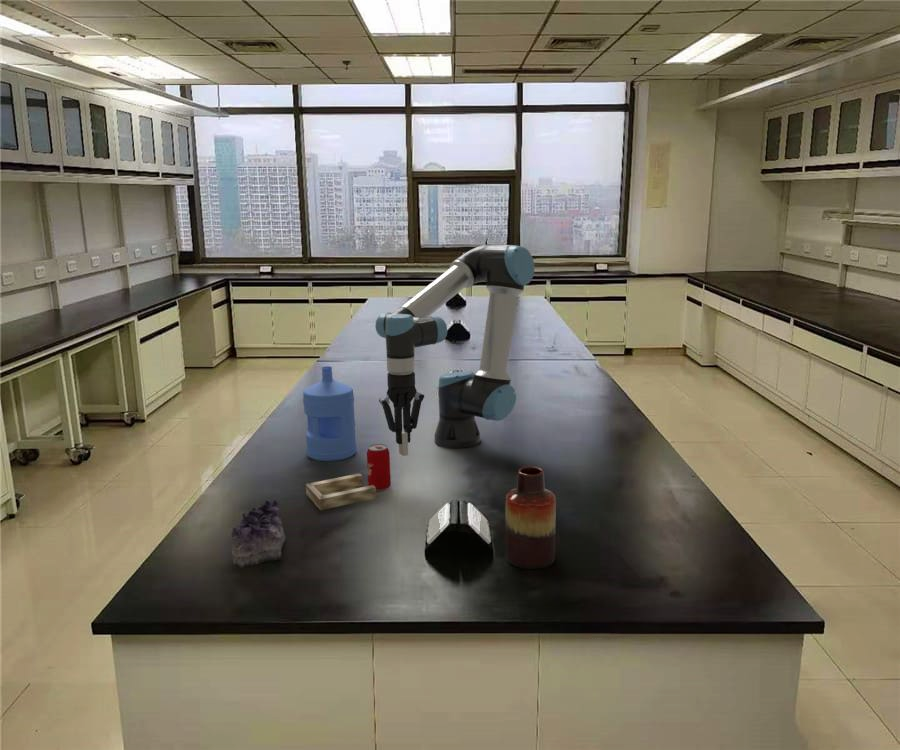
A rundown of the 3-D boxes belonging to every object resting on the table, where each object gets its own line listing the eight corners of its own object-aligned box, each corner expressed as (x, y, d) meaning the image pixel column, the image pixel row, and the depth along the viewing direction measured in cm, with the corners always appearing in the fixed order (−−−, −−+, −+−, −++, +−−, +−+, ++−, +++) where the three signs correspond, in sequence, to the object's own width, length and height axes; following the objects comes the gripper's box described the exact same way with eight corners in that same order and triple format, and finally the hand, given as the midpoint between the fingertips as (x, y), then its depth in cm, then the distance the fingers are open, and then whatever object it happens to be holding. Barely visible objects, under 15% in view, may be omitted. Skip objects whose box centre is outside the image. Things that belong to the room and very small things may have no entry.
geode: (240, 531, 171) (243, 492, 169) (289, 534, 173) (292, 495, 171) (224, 569, 151) (226, 525, 150) (279, 572, 153) (282, 529, 151)
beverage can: (379, 481, 200) (377, 441, 197) (395, 487, 196) (393, 446, 193) (363, 488, 195) (361, 447, 192) (379, 494, 191) (377, 452, 189)
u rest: (359, 483, 199) (359, 473, 199) (376, 497, 189) (375, 487, 188) (306, 494, 192) (305, 484, 191) (320, 510, 182) (319, 499, 181)
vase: (564, 556, 156) (566, 469, 151) (536, 575, 148) (537, 484, 143) (524, 541, 163) (525, 458, 158) (495, 559, 155) (495, 472, 150)
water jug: (328, 442, 234) (324, 360, 228) (366, 450, 226) (362, 365, 220) (296, 457, 221) (290, 370, 215) (335, 465, 213) (329, 375, 207)
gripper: (416, 366, 198) (418, 446, 203) (373, 372, 192) (376, 454, 197) (428, 371, 192) (430, 453, 197) (384, 377, 186) (387, 462, 191)
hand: (403, 453), depth 197 cm, fingers closed
